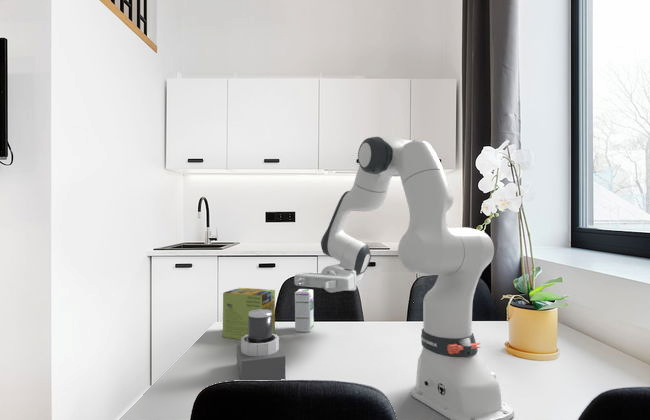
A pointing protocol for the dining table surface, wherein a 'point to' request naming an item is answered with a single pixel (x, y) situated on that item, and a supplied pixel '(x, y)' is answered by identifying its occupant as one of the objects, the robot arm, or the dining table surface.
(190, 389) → the dining table surface
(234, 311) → the protein box
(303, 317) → the syrup box
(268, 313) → the dark grey metallic cylinder
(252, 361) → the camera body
